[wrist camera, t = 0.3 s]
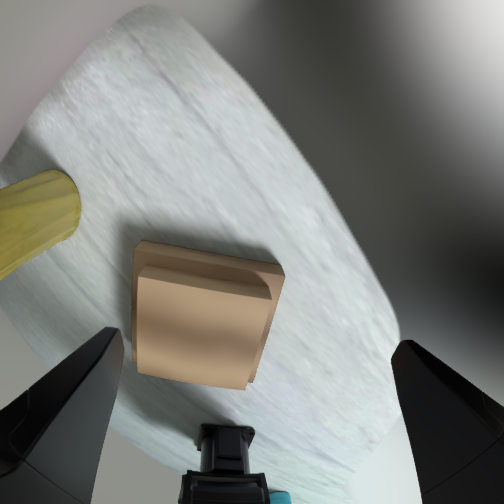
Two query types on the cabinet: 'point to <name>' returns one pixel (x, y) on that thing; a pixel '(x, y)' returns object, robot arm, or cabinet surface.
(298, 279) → the cabinet surface
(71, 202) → the vase
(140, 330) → the pedestal
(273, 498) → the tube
